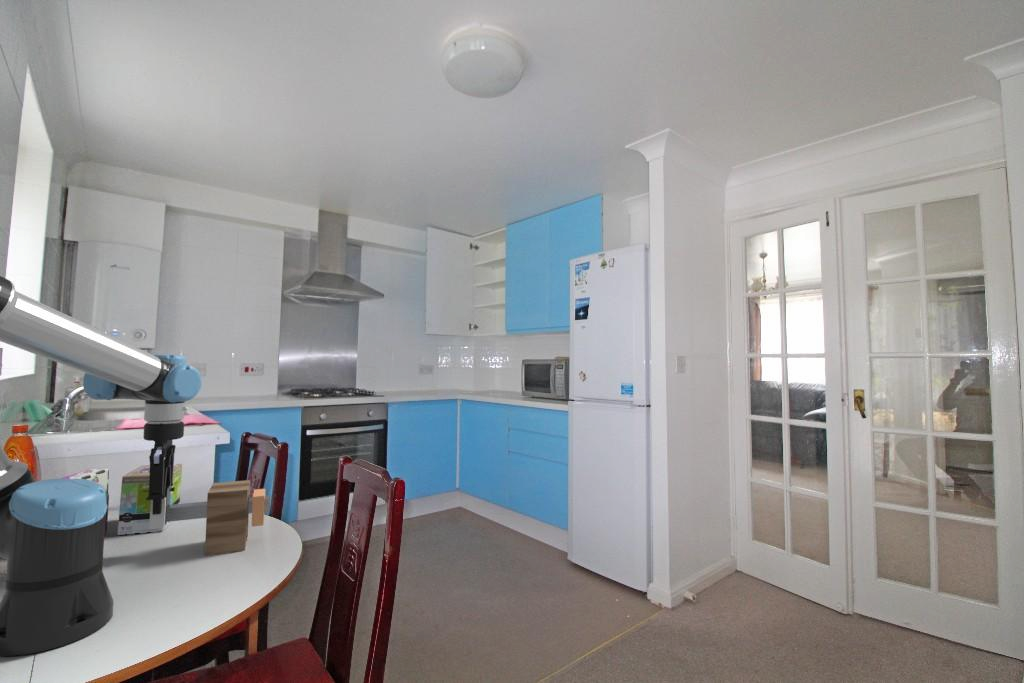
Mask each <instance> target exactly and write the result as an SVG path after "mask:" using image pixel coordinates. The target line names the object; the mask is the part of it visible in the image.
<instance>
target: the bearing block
mask: <svg viewBox="0 0 1024 683" xmlns="http://www.w3.org/2000/svg"><path fill="white" fill-rule="evenodd" d="M250 492H251V480H250V479H247V480H235V481H234V480H233V481H222V482H220V481H219V482H213V483H212V485H211V486H210V488H209V490H208V491H207V497H206V499H207V500H206V502H207V518H205V519H206V520H205V521H206V522H205V524H206V525H205V543H204V544H205V545H204V556H205V557H206V556H214V555H213V554H215V555H219V554H220V555H221V553H222V554H228V553H227V552H230V553H235V552H234V551H238V552H241V551H240V550H245V551H246V548H245V547H247V543H246V542H248V538H249V518H250V517H249V514H250V513H249V514H247V509H248V498H251V497H250V494H251V493H250ZM247 537H248V538H247Z"/></svg>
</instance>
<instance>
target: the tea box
mask: <svg viewBox="0 0 1024 683" xmlns="http://www.w3.org/2000/svg"><path fill="white" fill-rule="evenodd" d="M182 470H183V464H182V463H174V469H173V486H172V487H171V488H173V487H175V490H174V491H171V498H170V505H173V504H181V503H180V502H181V490H182V489H181V486H182V474H183V471H182ZM149 476H150V464H145V465H141V466H139V467H137V468H136V469H133V470H132V471H130V472H128V473H126V474H124V475H123V476H122V478H121V489H120V501H119V513H118V523H117V524H118V525H117V535H118V536H120V535H121V536H122V535H124V536H125V534H127V535H136V534H135V533H140V534H147V532H151V533H158V532H157V531H161V532H163V531H164V530H165V529H166V528H167V527H168V526H169V525H170V524H171V522H172V521H170V522H167V524H166V525H165V527H164V528H157V529H149V524H150V504H151V500H146V498H147V497H148V495H149Z"/></svg>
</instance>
